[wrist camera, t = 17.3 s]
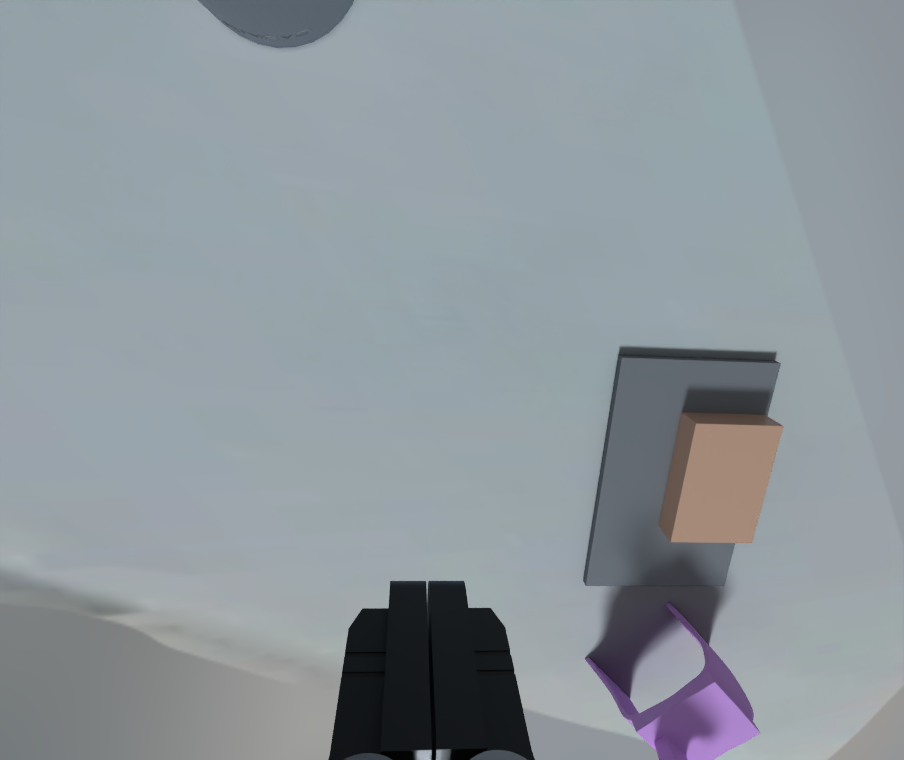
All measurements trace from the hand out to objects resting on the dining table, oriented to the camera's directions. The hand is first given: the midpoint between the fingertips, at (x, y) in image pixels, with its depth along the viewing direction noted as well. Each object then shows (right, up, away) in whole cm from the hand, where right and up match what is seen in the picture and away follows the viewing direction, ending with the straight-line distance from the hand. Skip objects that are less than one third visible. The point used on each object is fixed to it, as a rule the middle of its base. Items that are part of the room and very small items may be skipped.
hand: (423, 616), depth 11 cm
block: (+16, -2, +27) cm, 31 cm away
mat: (+17, -2, +28) cm, 33 cm away
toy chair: (+17, -17, +34) cm, 41 cm away
